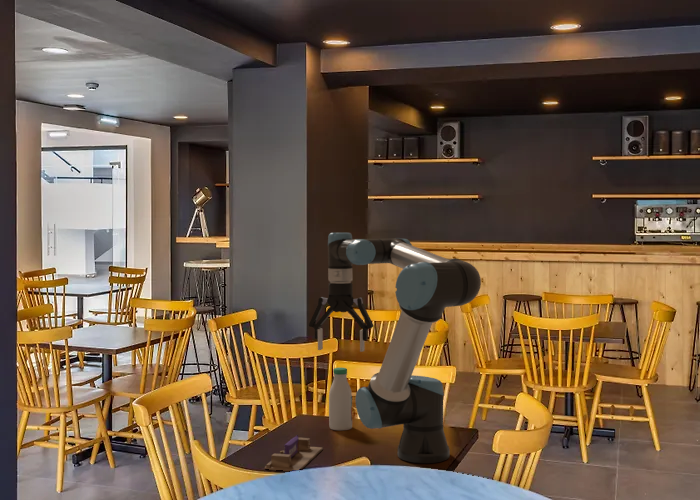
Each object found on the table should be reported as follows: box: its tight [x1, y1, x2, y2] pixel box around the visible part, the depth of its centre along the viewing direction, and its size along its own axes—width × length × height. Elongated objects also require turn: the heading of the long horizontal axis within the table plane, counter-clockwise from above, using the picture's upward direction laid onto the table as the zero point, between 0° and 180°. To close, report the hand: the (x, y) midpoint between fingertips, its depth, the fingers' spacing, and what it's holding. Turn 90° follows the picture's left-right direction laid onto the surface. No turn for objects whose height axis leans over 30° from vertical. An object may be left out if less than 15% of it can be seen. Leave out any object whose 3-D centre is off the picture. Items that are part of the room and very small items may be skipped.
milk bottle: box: [328, 367, 353, 431], centre depth 256 cm, size 8×8×20 cm
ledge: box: [264, 437, 323, 472], centre depth 223 cm, size 22×10×4 cm, turn 165°
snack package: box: [283, 434, 300, 458], centre depth 223 cm, size 12×2×5 cm, turn 165°
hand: (341, 350), depth 239 cm, fingers open, 13 cm apart
